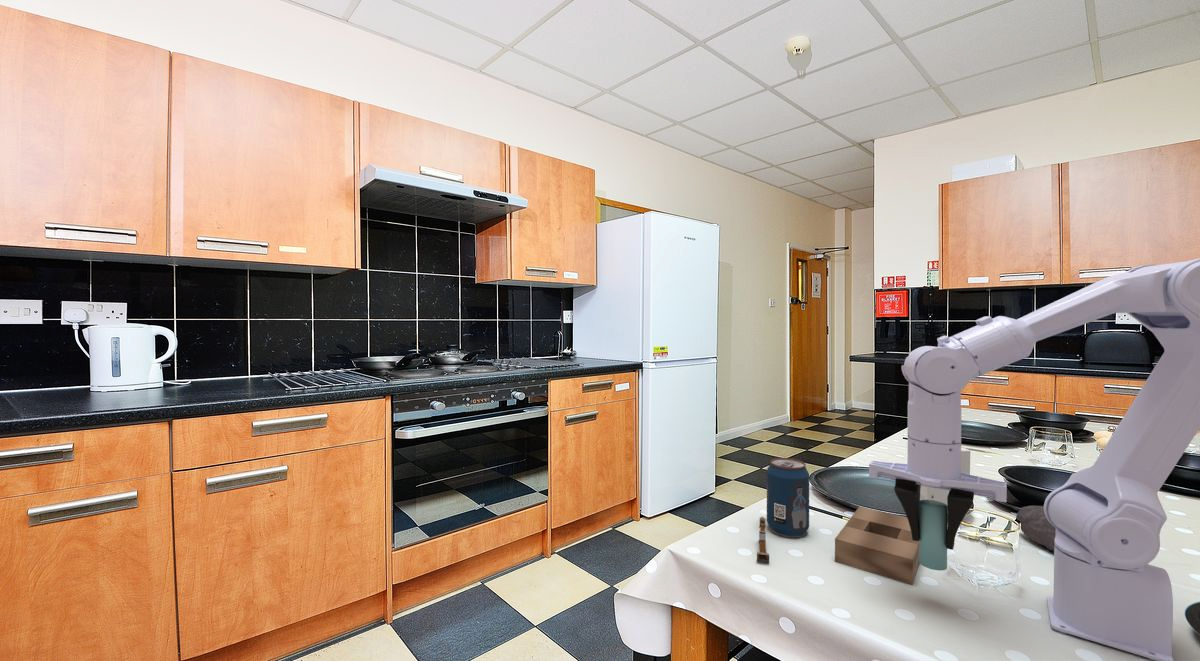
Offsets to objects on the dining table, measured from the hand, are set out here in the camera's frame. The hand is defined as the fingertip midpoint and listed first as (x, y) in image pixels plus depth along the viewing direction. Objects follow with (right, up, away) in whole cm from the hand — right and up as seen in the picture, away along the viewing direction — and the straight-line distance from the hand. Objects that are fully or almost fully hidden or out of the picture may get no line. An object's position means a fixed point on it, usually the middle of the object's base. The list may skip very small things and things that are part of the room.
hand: (932, 542), depth 62 cm
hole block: (+1, -8, +13) cm, 15 cm away
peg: (0, -3, 0) cm, 3 cm away
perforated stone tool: (+29, -8, +12) cm, 33 cm away
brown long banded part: (-18, -8, +14) cm, 24 cm away
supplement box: (+22, -7, +30) cm, 38 cm away
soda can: (-11, -8, +21) cm, 25 cm away
